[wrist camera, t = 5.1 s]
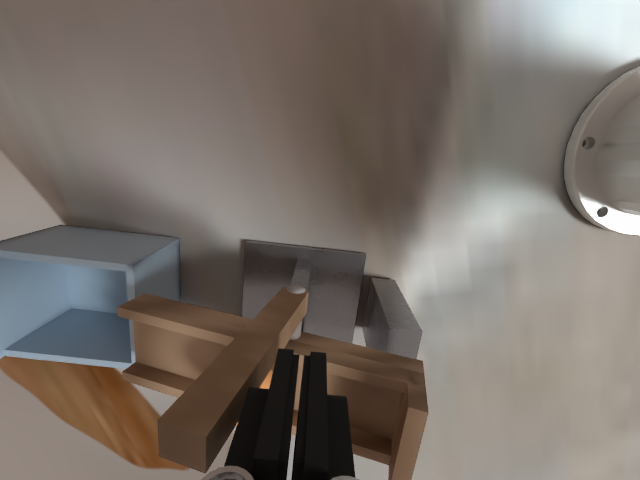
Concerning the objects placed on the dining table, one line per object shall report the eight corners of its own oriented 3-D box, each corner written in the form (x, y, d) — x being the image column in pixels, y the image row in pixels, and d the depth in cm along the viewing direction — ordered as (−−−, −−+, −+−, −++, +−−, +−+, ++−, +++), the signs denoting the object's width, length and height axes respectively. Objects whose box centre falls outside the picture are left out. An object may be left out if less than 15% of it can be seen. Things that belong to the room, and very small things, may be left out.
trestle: (398, 256, 26) (434, 309, 17) (380, 348, 29) (405, 436, 20) (247, 240, 26) (206, 284, 17) (242, 333, 28) (204, 415, 20)
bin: (179, 238, 26) (93, 288, 16) (180, 322, 28) (105, 409, 19) (60, 224, 26) (-97, 267, 16) (70, 310, 28) (-63, 391, 18)
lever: (433, 314, 15) (480, 531, 6) (396, 473, 18) (391, 778, 9) (142, 252, 19) (-92, 334, 10) (149, 393, 22) (-28, 556, 13)
